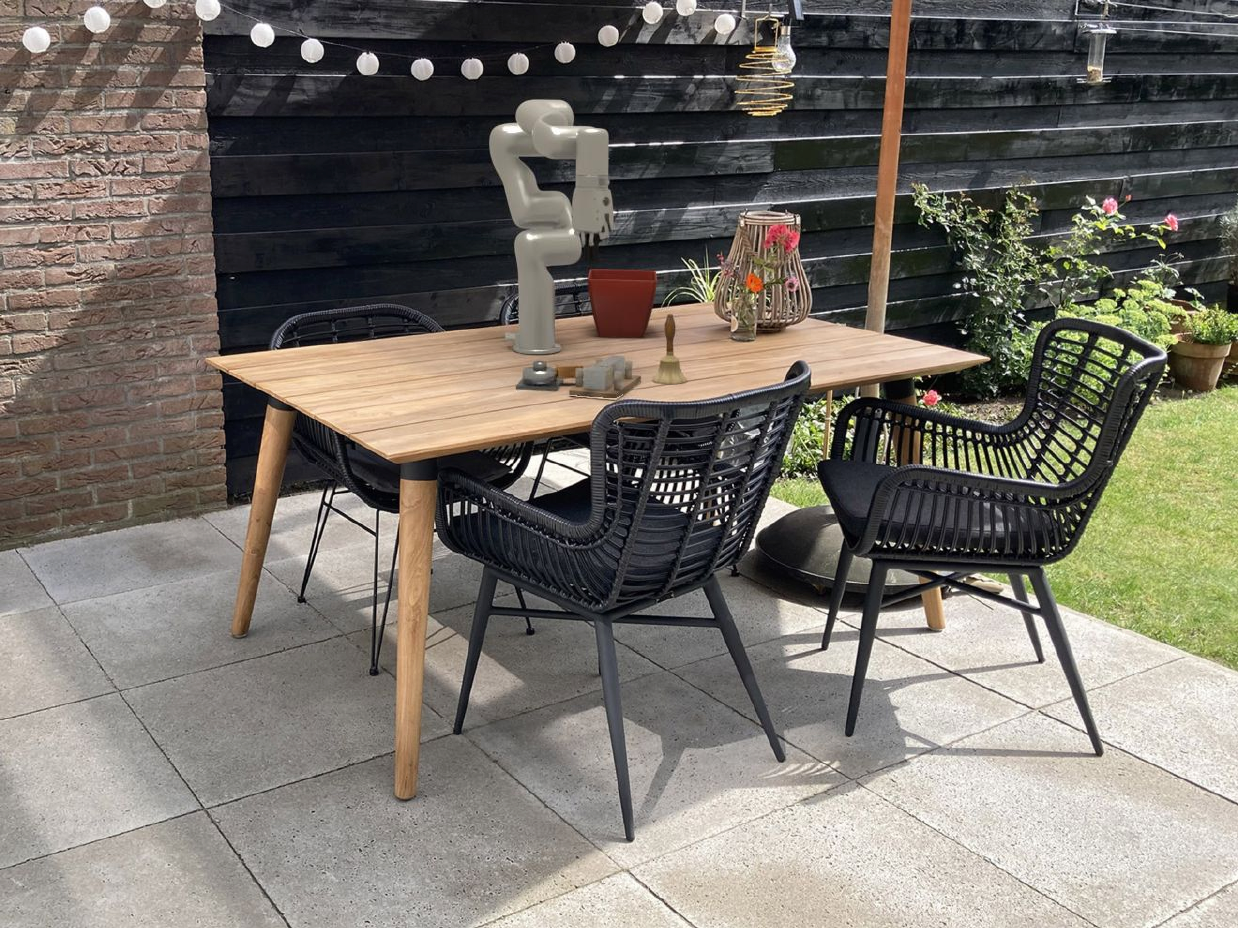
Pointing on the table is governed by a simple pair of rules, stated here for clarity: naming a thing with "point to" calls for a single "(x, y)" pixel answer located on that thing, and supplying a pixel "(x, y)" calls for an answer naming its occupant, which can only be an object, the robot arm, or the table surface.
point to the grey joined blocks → (603, 373)
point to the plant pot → (621, 301)
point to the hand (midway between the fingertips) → (591, 262)
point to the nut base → (539, 386)
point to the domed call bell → (549, 372)
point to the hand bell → (669, 359)
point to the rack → (619, 387)
